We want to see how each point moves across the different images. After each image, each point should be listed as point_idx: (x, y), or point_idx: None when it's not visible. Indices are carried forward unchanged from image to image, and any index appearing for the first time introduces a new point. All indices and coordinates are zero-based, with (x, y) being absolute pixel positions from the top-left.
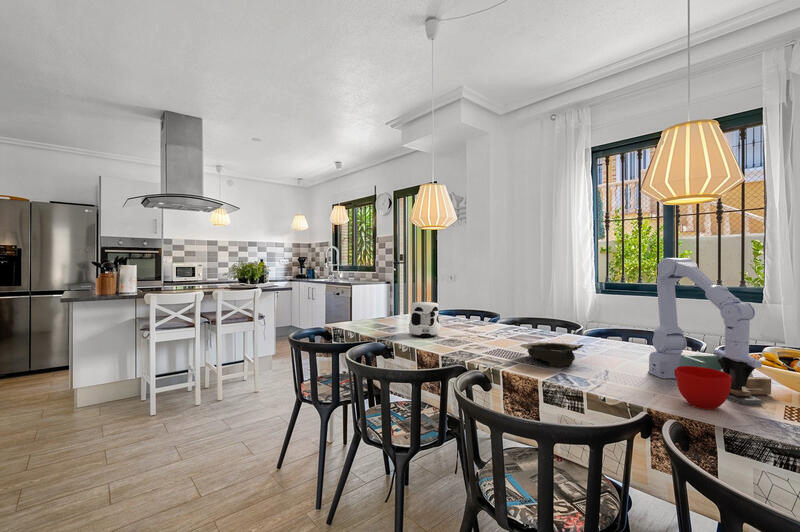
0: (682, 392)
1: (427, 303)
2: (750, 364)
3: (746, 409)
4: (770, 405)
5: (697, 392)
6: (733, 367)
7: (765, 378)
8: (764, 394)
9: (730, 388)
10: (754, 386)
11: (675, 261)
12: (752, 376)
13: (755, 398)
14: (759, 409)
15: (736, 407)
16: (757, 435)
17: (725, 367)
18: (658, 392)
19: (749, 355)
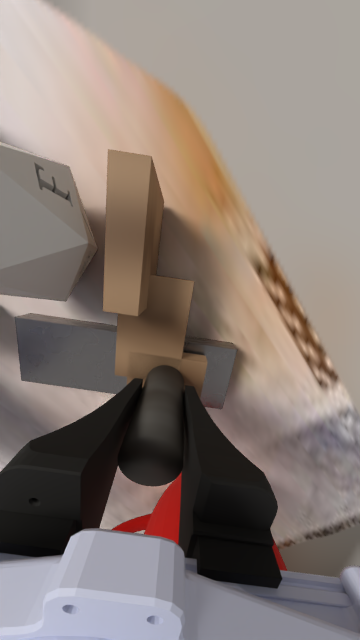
0: None
1: None
2: (304, 606)
3: (247, 416)
4: (241, 318)
5: None
6: (111, 449)
7: (134, 184)
8: (160, 231)
9: (279, 557)
10: (149, 276)
11: None
12: (50, 175)
13: (220, 355)
14: (256, 384)
15: (229, 426)
16: (352, 516)
17: (109, 490)
18: (108, 504)
19: (145, 613)
